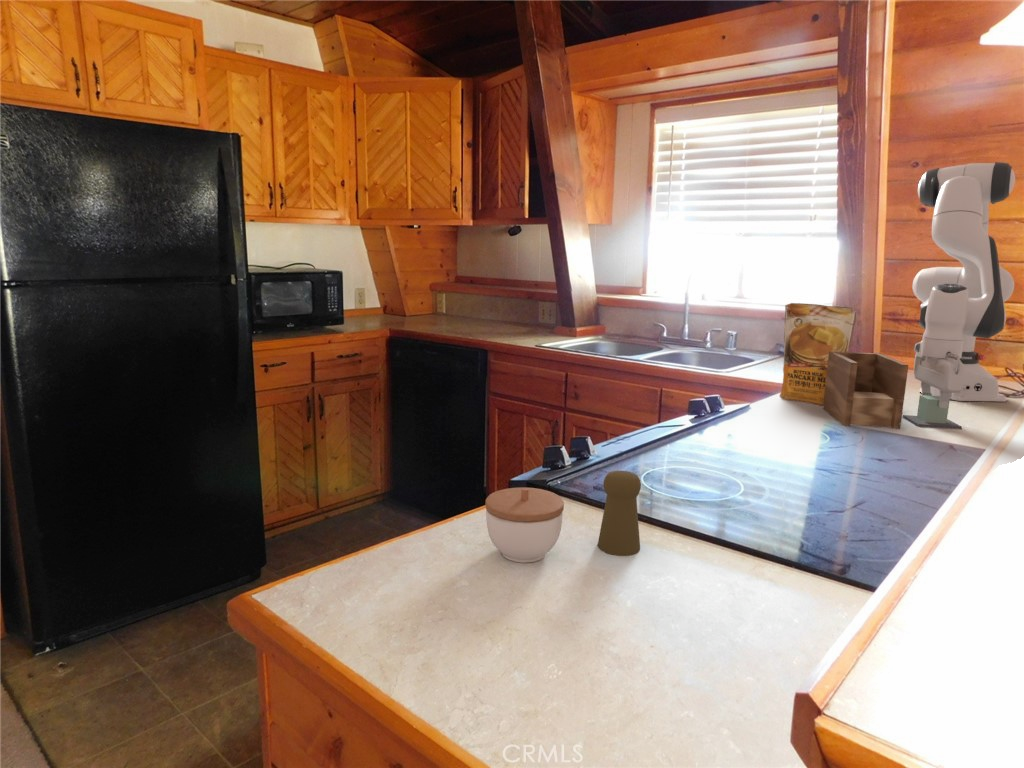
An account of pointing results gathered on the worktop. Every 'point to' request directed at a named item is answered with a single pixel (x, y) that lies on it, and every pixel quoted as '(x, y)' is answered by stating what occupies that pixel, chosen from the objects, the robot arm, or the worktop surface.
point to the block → (931, 410)
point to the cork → (620, 514)
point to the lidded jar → (524, 522)
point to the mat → (925, 424)
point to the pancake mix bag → (812, 347)
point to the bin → (865, 389)
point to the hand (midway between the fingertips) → (933, 403)
